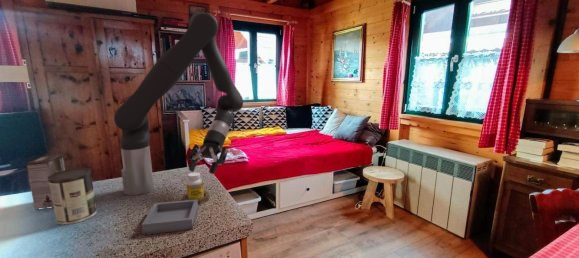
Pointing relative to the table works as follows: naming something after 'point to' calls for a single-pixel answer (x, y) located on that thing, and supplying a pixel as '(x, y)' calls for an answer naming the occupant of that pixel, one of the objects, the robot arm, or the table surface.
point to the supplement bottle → (195, 186)
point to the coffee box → (43, 178)
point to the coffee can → (72, 195)
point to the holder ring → (200, 201)
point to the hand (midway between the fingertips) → (200, 171)
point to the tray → (170, 217)
